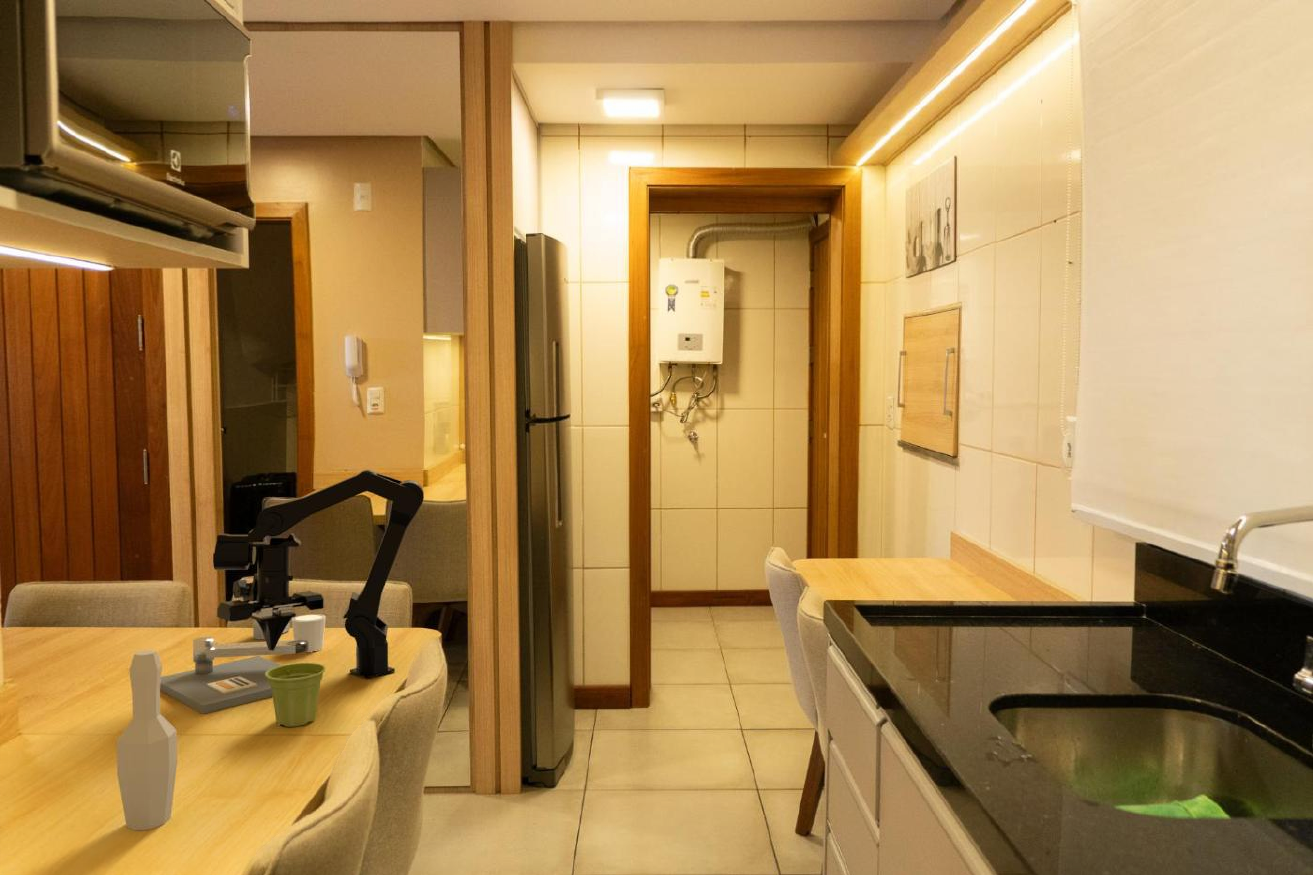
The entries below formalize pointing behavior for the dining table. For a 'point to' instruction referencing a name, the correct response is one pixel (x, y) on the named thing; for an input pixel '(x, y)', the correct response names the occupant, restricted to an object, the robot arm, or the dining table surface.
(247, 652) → the swing arm
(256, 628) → the medicine box
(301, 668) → the plant pot
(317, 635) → the white cup
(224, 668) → the label board
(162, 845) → the dining table surface
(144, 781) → the low poly bottle
